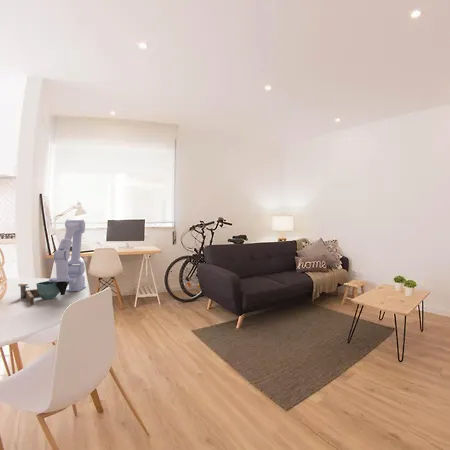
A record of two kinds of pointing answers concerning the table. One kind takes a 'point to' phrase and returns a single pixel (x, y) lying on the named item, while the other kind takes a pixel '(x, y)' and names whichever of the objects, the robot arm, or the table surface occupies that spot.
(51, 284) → the flower pot
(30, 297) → the v jig
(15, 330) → the table surface
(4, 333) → the table surface
